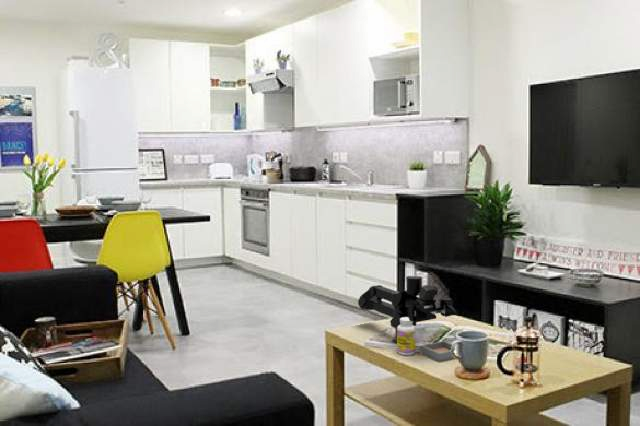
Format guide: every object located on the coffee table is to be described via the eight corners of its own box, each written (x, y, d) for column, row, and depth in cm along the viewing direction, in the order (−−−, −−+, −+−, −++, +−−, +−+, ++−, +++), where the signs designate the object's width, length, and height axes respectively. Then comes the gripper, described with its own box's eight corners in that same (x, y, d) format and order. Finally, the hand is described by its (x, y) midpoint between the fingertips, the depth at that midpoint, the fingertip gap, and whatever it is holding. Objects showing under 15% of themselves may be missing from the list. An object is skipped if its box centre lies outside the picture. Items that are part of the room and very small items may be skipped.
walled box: (420, 353, 248) (420, 345, 248) (443, 348, 254) (443, 340, 253) (439, 362, 239) (439, 354, 239) (463, 356, 244) (463, 348, 244)
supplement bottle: (394, 354, 248) (394, 320, 247) (400, 348, 254) (400, 315, 253) (411, 356, 245) (411, 322, 244) (417, 351, 251) (417, 317, 249)
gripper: (398, 287, 247) (425, 296, 233) (439, 281, 256) (467, 289, 242) (398, 317, 248) (425, 327, 234) (438, 310, 257) (466, 319, 243)
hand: (446, 315), depth 238 cm, fingers open, 9 cm apart
